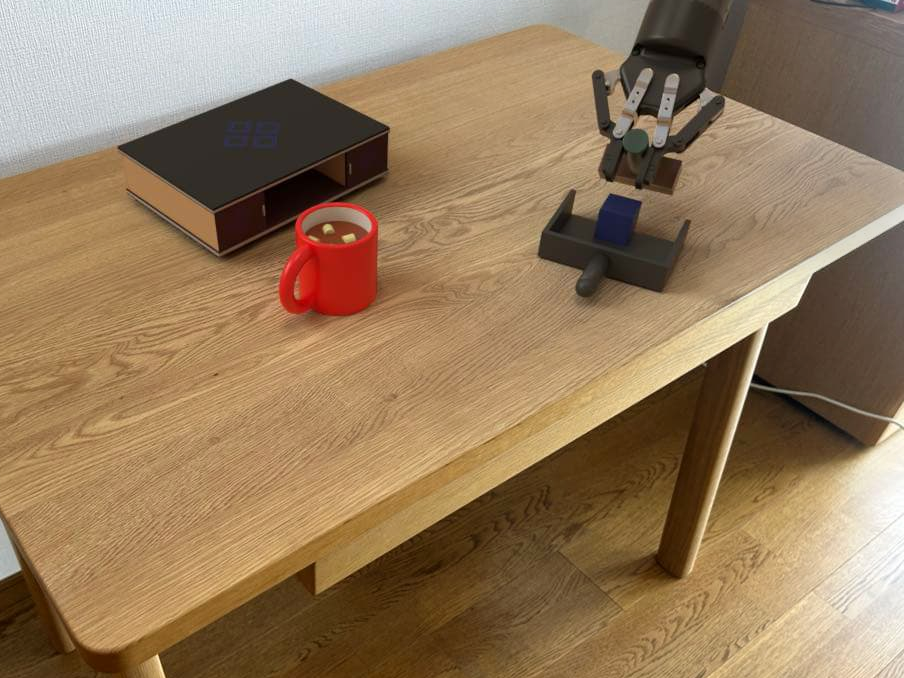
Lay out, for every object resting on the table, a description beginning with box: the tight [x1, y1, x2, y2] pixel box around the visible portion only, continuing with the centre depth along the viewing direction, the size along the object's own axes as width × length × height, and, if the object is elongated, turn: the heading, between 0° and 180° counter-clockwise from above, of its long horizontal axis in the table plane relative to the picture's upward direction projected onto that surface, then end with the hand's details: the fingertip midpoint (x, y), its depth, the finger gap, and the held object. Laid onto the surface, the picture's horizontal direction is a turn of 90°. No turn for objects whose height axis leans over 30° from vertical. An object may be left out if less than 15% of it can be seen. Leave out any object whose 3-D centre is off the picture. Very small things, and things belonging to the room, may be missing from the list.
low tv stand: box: [116, 78, 391, 259], centre depth 99 cm, size 17×25×7 cm
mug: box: [278, 201, 379, 316], centre depth 84 cm, size 8×12×8 cm, turn 144°
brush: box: [597, 128, 683, 197], centre depth 89 cm, size 8×3×11 cm
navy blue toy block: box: [594, 192, 643, 246], centre depth 94 cm, size 4×4×4 cm
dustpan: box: [537, 188, 692, 299], centre depth 90 cm, size 16×13×3 cm
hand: (624, 182), depth 86 cm, fingers closed on brush, 2 cm apart
